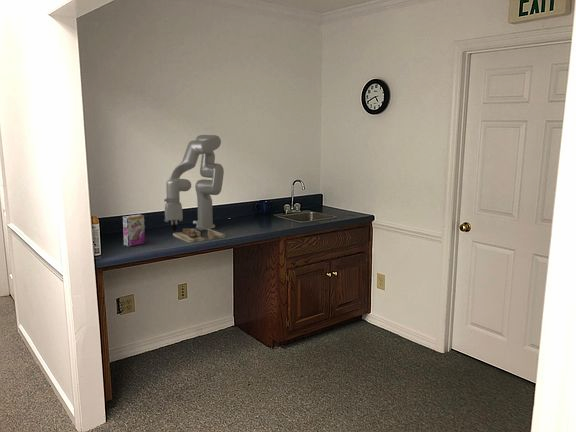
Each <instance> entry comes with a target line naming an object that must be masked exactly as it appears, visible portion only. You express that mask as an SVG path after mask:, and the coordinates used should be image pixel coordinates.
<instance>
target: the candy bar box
mask: <svg viewBox="0 0 576 432" xmlns="http://www.w3.org/2000/svg"><path fill="white" fill-rule="evenodd" d="M145 223H146V222H145V215H144V214H133V215H128V216H122V227H123V229H122V232H123V233H122V235H123V246H125V247H132V246H133V247H134V246H138V245H142V244H146V231H145V229H146V228H145V227H146V226H145V225H146V224H145Z"/></svg>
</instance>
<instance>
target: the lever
mask: <svg viewBox="0 0 576 432" xmlns="http://www.w3.org/2000/svg"><path fill="white" fill-rule="evenodd" d="M195 230H196V227H195V228H190V227H187V228H182V232H183V233H185V234H186V235H188V236H190V238H195V237H197V233H196V232H195Z"/></svg>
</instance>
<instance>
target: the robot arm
mask: <svg viewBox="0 0 576 432" xmlns="http://www.w3.org/2000/svg"><path fill="white" fill-rule="evenodd" d="M221 144H222V140H221V138H220V136H218V135H216V134H199V135H197V136H196V138H195V139H194V140H191V141H189V142H188V144H187V147H186V149H185V152H184V155H183V158H182V161H181V162H179V164H178V165H176V166H175V168H174V169H173V170H172V171H171V173H170V176H169V179H168V180H166V182H165V183H166V185H165V186H166V190H165V191H166V198H164V200H163V201H164V202H165V205H164V222H166V223H169V224H170V230H171V231H172V232H176V231H177V227H178V223H179V222H183V217H184V215H183V214H184V212H183V205H182V202H180V201H181V200H180V193H181V192H189V191H190V190H191V188H192V182H191V181H190V180H189V179H186V178H180V177H181V176H182V175H183V174H184V173H185V172H188V171H190V170H192V169H194V168H196V165H197V162H198V160H199V157H200V155H201V160H200V166H199V167H200V168H199V175H200V176H201V177H203V178H204V179H203V178H201V179H198V180H197V181H196V182H195V187H194V188H195V192H196V197H197V199H196V200H197V201H196V202H197V203H196V204H197V220H193V221H192V224H193V225H195V229H196V228H199V227H201V228H204V229H211V230H213V229H215V228H216V225H215V224H214V223H213V222H214V221H213V199H212V196H218V195H219V194H220V193H221V192H222V188H223V181H224V174H225V173H224V167H223V165H222V164H221V163H215V160H216V155H215V152H214V151H215V150H217V149H219V148H220V147H221ZM205 178H206V179H205ZM207 178H209V179H207Z"/></svg>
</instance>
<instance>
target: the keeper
mask: <svg viewBox="0 0 576 432" xmlns="http://www.w3.org/2000/svg"><path fill="white" fill-rule="evenodd" d="M195 229H196V231H199V232H201V238H206V237H208V230H207V229H204V228H201V227H199V228H196V227H195Z"/></svg>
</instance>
